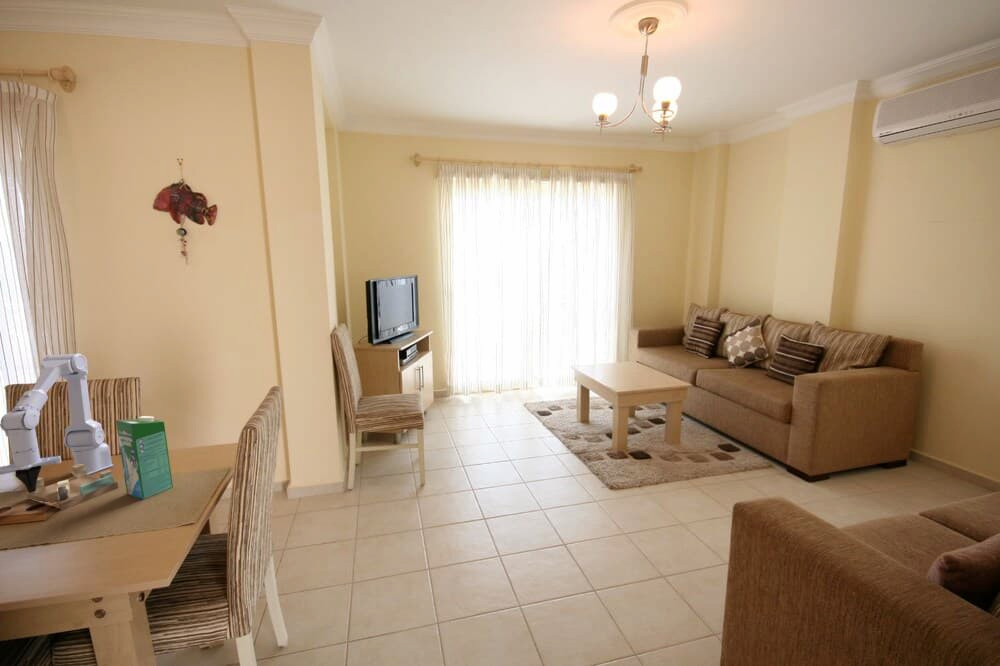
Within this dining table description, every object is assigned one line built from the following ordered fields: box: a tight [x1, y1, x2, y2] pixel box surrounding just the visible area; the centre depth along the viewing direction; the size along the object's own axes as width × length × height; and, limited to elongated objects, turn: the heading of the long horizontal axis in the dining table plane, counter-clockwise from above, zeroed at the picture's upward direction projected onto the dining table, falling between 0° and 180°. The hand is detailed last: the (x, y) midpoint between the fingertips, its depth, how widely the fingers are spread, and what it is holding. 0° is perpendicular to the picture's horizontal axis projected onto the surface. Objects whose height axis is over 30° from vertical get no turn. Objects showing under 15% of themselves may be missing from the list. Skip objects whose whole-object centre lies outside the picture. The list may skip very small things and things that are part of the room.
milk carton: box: [115, 415, 174, 500], centre depth 149 cm, size 9×9×25 cm
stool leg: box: [56, 479, 70, 500], centre depth 145 cm, size 10×2×4 cm, turn 43°
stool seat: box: [26, 464, 119, 511], centre depth 149 cm, size 15×19×6 cm
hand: (32, 491), depth 142 cm, fingers closed
